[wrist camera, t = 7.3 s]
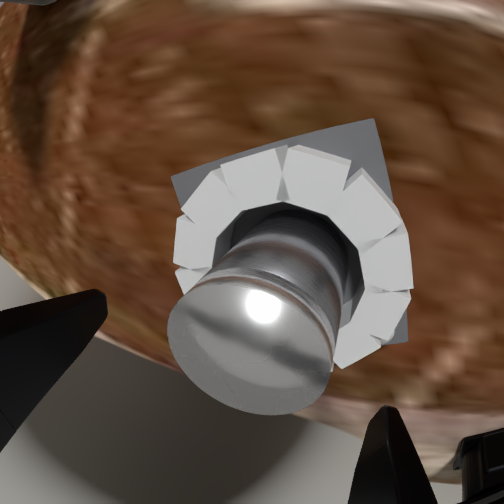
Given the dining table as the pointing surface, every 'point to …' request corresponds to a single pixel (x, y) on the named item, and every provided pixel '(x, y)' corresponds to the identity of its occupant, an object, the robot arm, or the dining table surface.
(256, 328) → the door knob
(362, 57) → the dining table surface
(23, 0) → the vintage camera
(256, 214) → the segmented white collar
